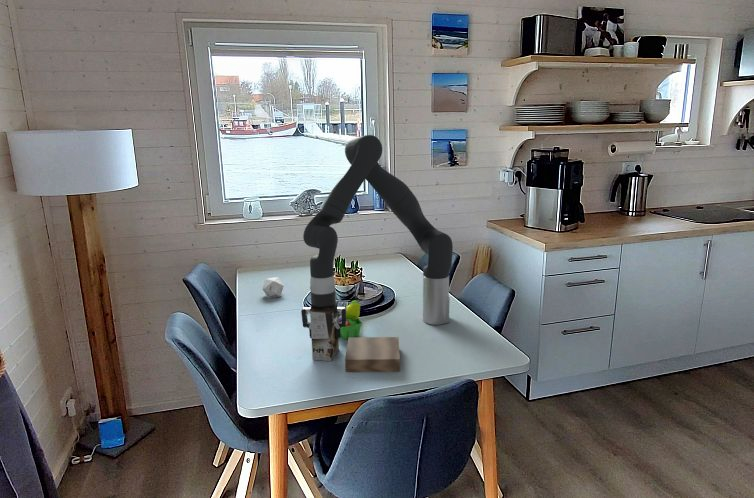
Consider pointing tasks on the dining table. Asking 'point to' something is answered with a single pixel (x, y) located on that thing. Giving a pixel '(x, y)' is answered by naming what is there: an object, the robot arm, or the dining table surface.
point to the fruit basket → (351, 321)
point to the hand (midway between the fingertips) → (325, 338)
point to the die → (273, 287)
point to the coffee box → (323, 334)
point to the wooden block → (372, 354)
